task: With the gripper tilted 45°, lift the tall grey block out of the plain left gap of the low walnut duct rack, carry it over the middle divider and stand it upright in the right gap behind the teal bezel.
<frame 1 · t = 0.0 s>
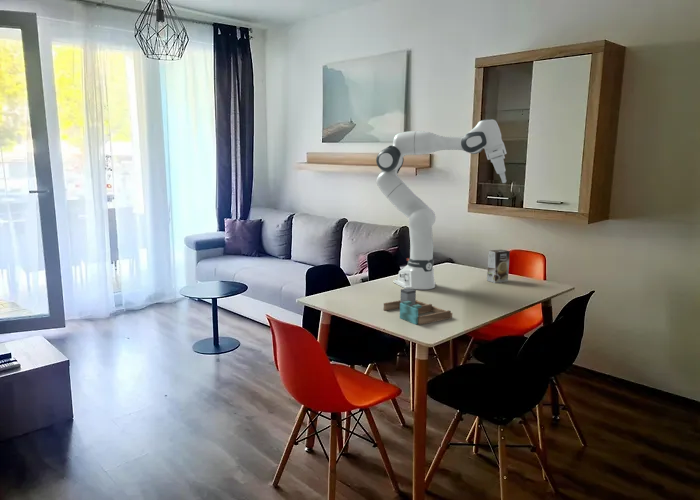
hand: (504, 182, 238), 52 cm above the table, tool tilted 20°, fingers open, 8 cm apart
duct rack: (416, 314, 212), on the table
coffee box: (497, 281, 271), on the table
tall grey block: (407, 310, 217), resting in duct rack
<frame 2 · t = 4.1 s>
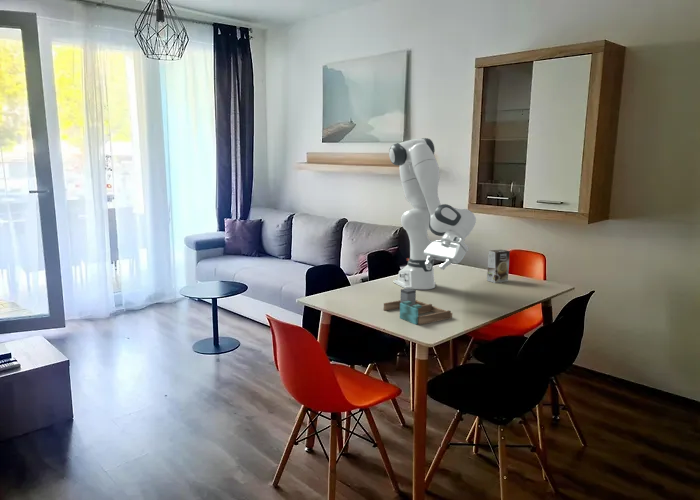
hand: (433, 266, 220), 17 cm above the table, tool tilted 45°, fingers open, 8 cm apart
nothing on the table moved.
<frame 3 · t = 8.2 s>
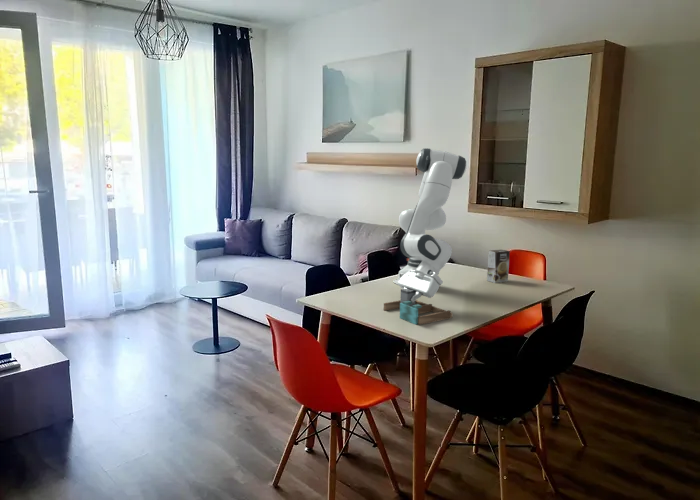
hand: (406, 299, 215), 5 cm above the table, tool tilted 45°, fingers closed on tall grey block, 4 cm apart
tall grey block: (407, 310, 217), resting in duct rack, touching gripper
everything else where it was.
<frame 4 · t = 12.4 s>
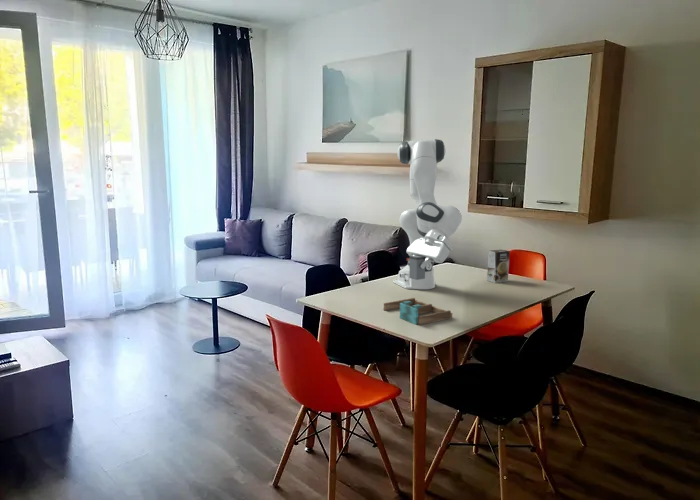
hand: (416, 266, 208), 20 cm above the table, tool tilted 45°, fingers closed on tall grey block, 4 cm apart
tall grey block: (417, 278, 209), point 15 cm above the table, touching gripper
everything else where it was.
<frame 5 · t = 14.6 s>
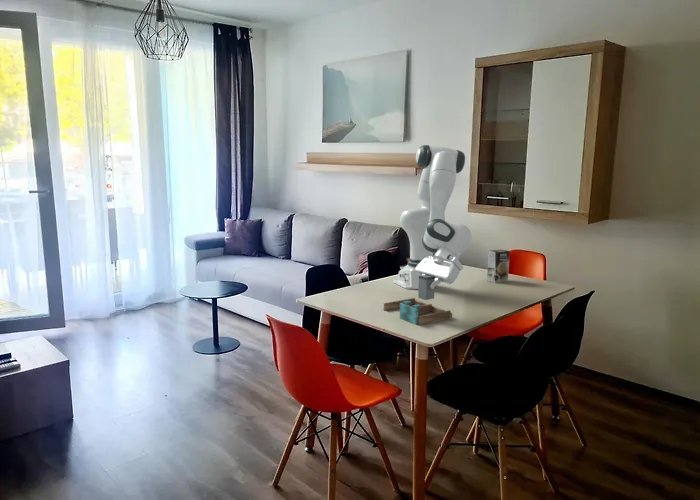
hand: (425, 286, 205), 13 cm above the table, tool tilted 45°, fingers closed on tall grey block, 4 cm apart
tall grey block: (426, 298, 206), point 8 cm above the table, touching gripper
everything else where it was.
when the fingers open (6 cm above the table, at t = 16.4 s): tall grey block drops 2 cm, resting in duct rack.
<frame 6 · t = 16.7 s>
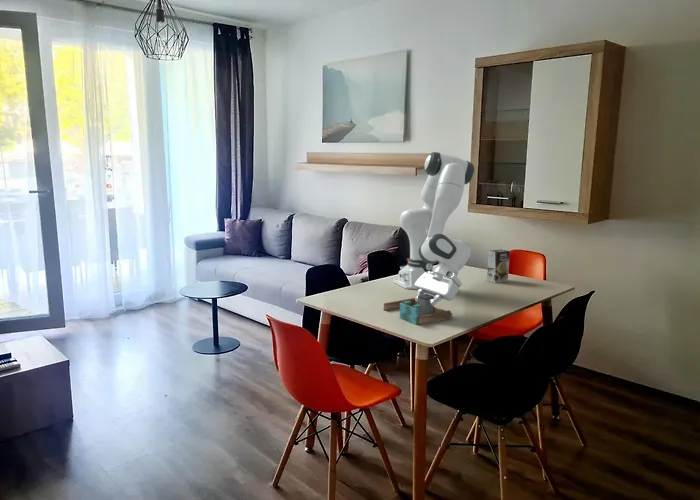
hand: (424, 302, 206), 6 cm above the table, tool tilted 45°, fingers open, 7 cm apart
tall grey block: (425, 317, 207), resting in duct rack
everything else where it was.
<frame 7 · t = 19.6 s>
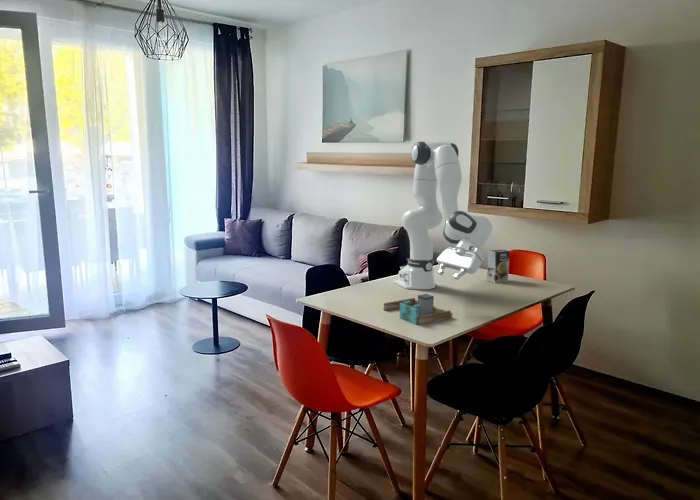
hand: (447, 276, 211), 16 cm above the table, tool tilted 45°, fingers open, 8 cm apart
nothing on the table moved.
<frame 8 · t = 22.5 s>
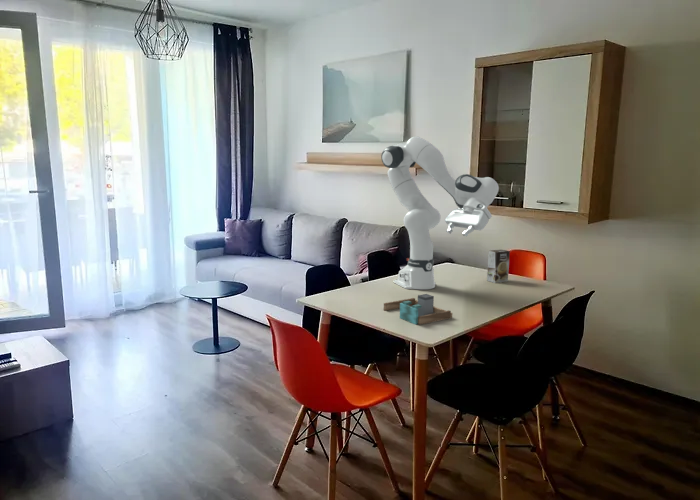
hand: (456, 233, 219), 31 cm above the table, tool tilted 45°, fingers open, 8 cm apart
nothing on the table moved.
at the end: tall grey block inside the target area on the duct rack (0.0 cm from its centre), point 0.0 cm above the duct rack's base; tall grey block tilted 0°; the gripper is holding nothing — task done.
